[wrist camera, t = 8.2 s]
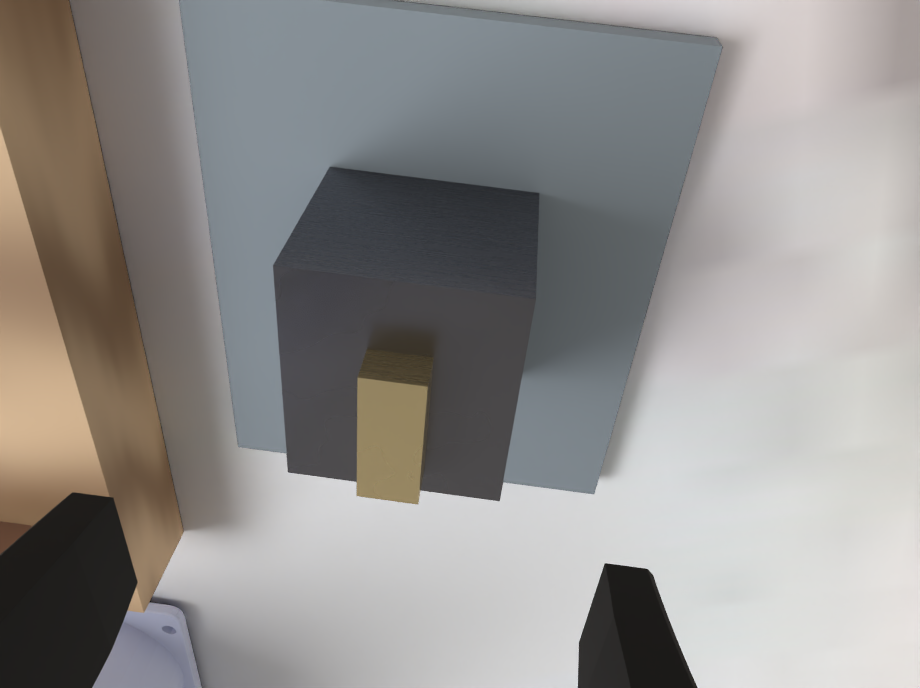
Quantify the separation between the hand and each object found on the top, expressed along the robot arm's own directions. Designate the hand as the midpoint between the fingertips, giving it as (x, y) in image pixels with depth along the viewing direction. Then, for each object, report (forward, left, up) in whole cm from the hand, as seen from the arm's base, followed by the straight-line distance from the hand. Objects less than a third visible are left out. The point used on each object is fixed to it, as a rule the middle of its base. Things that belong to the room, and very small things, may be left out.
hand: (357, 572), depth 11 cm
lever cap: (0, 0, -8) cm, 8 cm away
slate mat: (0, 0, -8) cm, 8 cm away
